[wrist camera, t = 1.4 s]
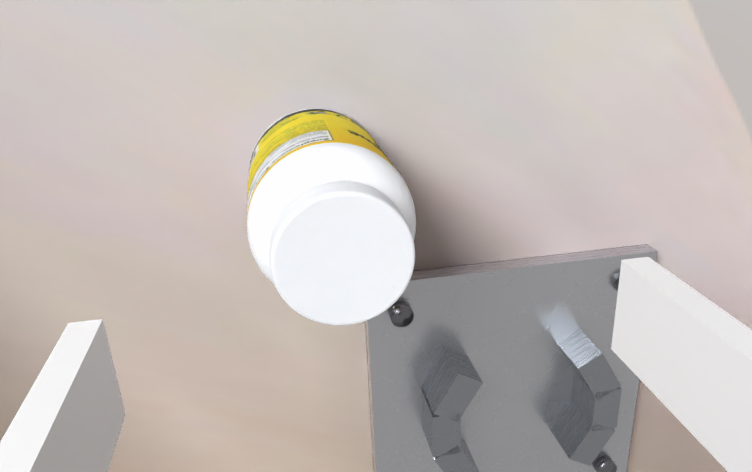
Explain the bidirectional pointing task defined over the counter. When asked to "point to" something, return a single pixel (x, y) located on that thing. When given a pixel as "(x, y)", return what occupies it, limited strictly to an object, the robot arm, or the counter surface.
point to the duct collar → (504, 368)
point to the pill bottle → (329, 218)
